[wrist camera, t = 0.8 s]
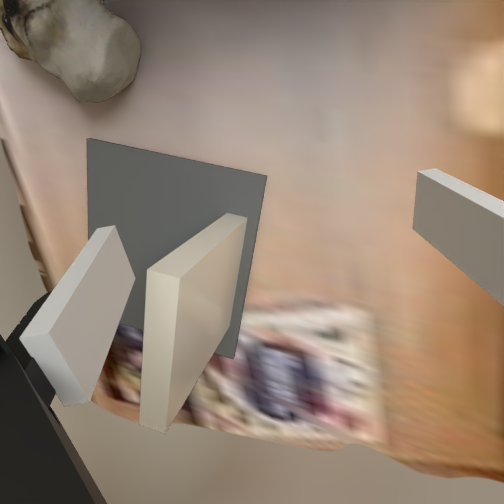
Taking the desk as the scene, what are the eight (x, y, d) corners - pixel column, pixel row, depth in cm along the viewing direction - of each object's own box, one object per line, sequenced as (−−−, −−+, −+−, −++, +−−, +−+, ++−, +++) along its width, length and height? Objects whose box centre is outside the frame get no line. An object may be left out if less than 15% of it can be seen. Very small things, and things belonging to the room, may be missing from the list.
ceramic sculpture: (44, 139, 25) (-99, -11, 25) (121, 141, 33) (13, 27, 33) (119, 3, 20) (-54, -179, 20) (186, 43, 28) (62, -88, 28)
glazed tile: (224, 212, 32) (142, 268, 19) (247, 217, 31) (179, 278, 19) (209, 320, 36) (135, 423, 24) (229, 326, 36) (165, 434, 23)
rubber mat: (90, 138, 34) (86, 138, 33) (267, 175, 30) (265, 176, 30) (93, 311, 41) (89, 313, 41) (234, 355, 38) (233, 359, 37)
